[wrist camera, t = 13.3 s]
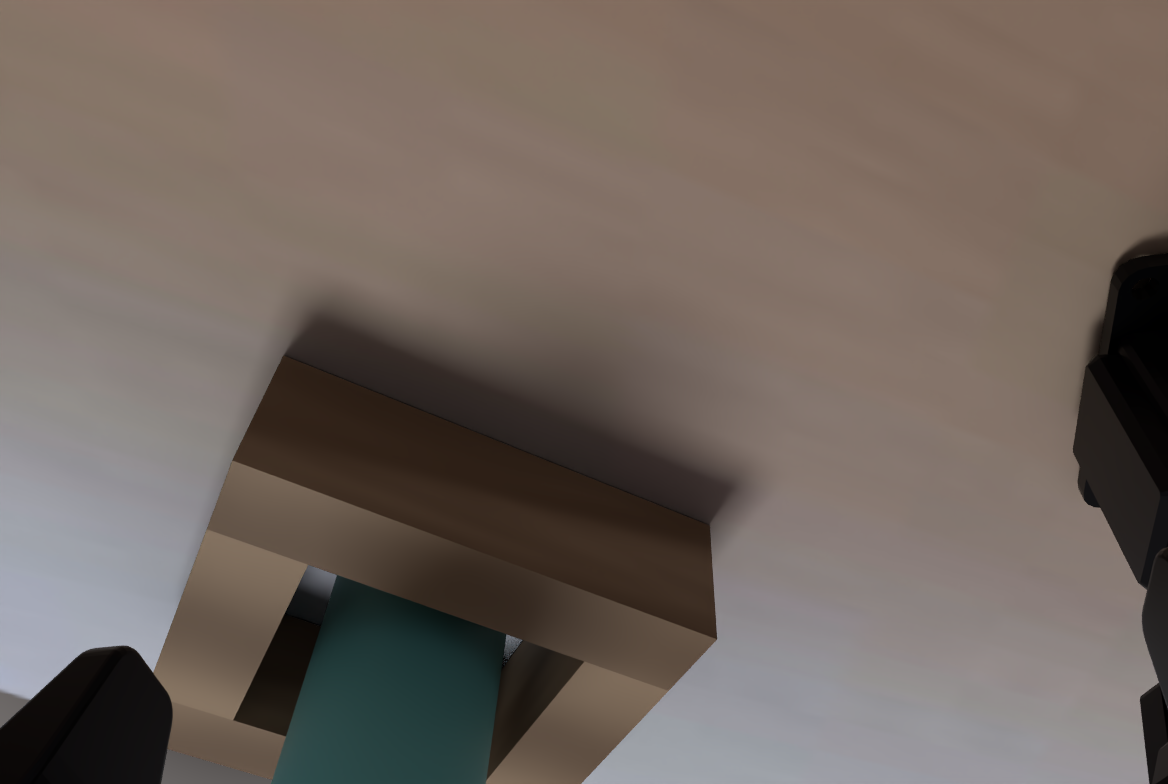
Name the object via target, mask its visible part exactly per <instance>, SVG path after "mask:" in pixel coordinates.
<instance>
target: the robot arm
mask: <svg viewBox="0 0 1168 784" xmlns="http://www.w3.org/2000/svg"><path fill="white" fill-rule="evenodd" d="M1145 278H1151V279H1150V281H1149V283H1147V284H1146V285H1145V286H1143V287H1141V288H1138V289H1132V288H1133V286H1134V285H1135V284H1136V283H1137V282H1138V281H1140V280H1142V279H1145ZM1073 453H1074V455H1075V457H1076V459H1077V461H1078V463H1079V465H1080V471H1079V477H1078V488H1079V490H1080V492H1081V495H1082V497H1083V499H1084V500H1085V502H1086V503H1087V504H1088V505H1091V506H1093V507H1099V508H1101V510H1102V512H1103V514H1104V516H1105V518H1106V520H1107V522H1108V524H1109V526H1110V528H1111V530H1112V532H1113V534H1114V536H1115V538H1116V540H1117V542H1118V544H1119V546H1120V548H1121V550H1122V552H1123V554H1124V556H1125V558H1126V560H1127V562H1128V564H1129V566H1130V568H1131V570H1132V572H1133V574H1134V576H1135V578H1136V580H1137V582H1138V583H1139V584H1140V585H1142V586H1143V587H1144V588H1145V589H1147V593H1146V597H1145V602H1144V606H1143V611H1142V626H1143V633H1144V638H1145V641H1146V644H1147V647H1148V650H1149V654H1150V657H1151V660H1152V663H1153V666H1154V669H1155V672H1156V675H1157V678H1158V681H1159V683H1158V684H1157V685H1155V686H1154V687H1153V688H1151V689H1150V690H1149V691H1147V692H1146V693H1145V694H1143V695H1142V696H1141V697H1140V704H1141V713H1142V722H1143V731H1144V740H1145V749H1146V758H1147V766H1148V775H1149V784H1168V253H1166V254H1158V255H1150V256H1141V257H1138V258H1134V259H1131V260H1129V261H1127V262H1126V263H1124V264H1122V265H1121V266H1120V267H1119V268H1118V269H1117V270H1116V272H1115V273H1114V275H1113V277H1112V280H1111V284H1110V290H1109V296H1108V302H1107V308H1106V314H1105V320H1104V326H1103V332H1102V338H1101V344H1100V350H1099V355H1096V356H1094V357H1093V359H1092V360H1091V361H1090V362H1089V364H1088V365H1087V366H1086V369H1085V376H1084V382H1083V388H1082V395H1081V401H1080V407H1079V414H1078V420H1077V426H1076V433H1075V439H1074V445H1073ZM172 720H173V708H172V702H171V699H170V696H169V694H168V692H167V691H166V690H165V688H164V687H163V686H162V684H161V683H160V681H159V680H158V679H157V677H156V676H155V675H154V673H153V672H152V671H151V669H150V668H149V667H148V665H147V664H146V663H145V661H144V660H143V658H142V657H141V656H140V654H139V653H138V652H137V651H136V650H135V649H133V648H131V647H129V646H112V647H102V648H94V649H90V650H87V651H85V652H83V653H82V654H80V655H79V656H78V657H76V658H75V659H74V660H73V661H72V662H71V663H70V664H69V665H68V666H67V667H66V668H64V669H63V670H62V671H61V672H60V673H59V674H58V675H57V676H56V677H55V678H54V679H53V680H52V681H50V682H49V683H48V684H47V685H46V686H45V687H44V688H43V689H42V690H41V691H40V692H39V693H38V694H36V695H35V696H34V697H33V698H32V699H31V700H30V701H29V702H28V703H27V704H26V705H25V706H24V707H23V708H21V709H20V710H19V711H18V712H17V713H16V714H15V715H14V716H13V717H12V718H11V719H10V720H8V721H7V722H6V723H5V724H4V725H3V726H2V727H1V728H0V784H161V780H162V775H163V770H164V764H165V759H166V754H167V749H168V743H169V738H170V732H171V727H172Z"/></svg>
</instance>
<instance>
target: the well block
mask: <svg viewBox="0 0 1168 784" xmlns="http://www.w3.org/2000/svg"><path fill="white" fill-rule="evenodd" d="M308 565H310V566H313V567H316V568H319V569H322V570H324V571H327V572H330V573H333V574H336V575H339V576H342V577H344V578H347V579H350V580H353V581H356V582H359V583H362V584H364V585H367V586H370V587H373V588H376V589H379V590H382V591H384V592H387V593H390V594H393V595H396V596H399V597H402V598H404V599H407V600H410V601H413V602H416V603H419V604H422V605H424V606H427V607H430V608H433V609H436V610H439V611H442V612H444V613H447V614H450V615H453V616H456V617H459V618H462V619H464V620H467V621H470V622H473V623H476V624H479V625H482V626H484V627H487V628H490V629H493V630H496V631H499V632H502V633H504V634H507V635H510V636H513V637H516V638H519V639H522V640H523V642H522V643H521V644H520V646H519V647H518V648H517V650H516V651H515V652H514V654H513V655H512V656H511V658H510V659H509V660H508V662H507V663H506V664H505V666H504V667H503V668H502V670H501V677H500V684H499V691H498V699H497V706H496V713H495V721H494V728H493V735H492V743H491V750H490V757H489V765H488V772H487V779H486V784H581V783H582V782H583V781H584V780H585V779H586V778H587V777H588V776H589V775H590V774H591V773H592V772H593V770H594V769H595V768H596V767H597V766H598V765H599V764H600V763H601V762H602V761H603V760H604V759H605V758H606V757H607V756H608V755H609V753H610V752H611V751H612V750H613V749H614V748H615V747H616V746H617V745H618V744H619V743H620V742H621V741H622V740H623V739H624V738H625V736H626V735H627V734H628V733H629V732H630V731H631V730H632V729H633V728H634V727H635V726H636V725H637V724H638V723H639V722H640V721H641V720H642V718H643V717H644V716H645V715H646V714H647V713H648V712H649V711H650V710H651V709H652V708H653V707H654V706H655V705H656V704H657V703H658V701H659V700H660V699H661V698H662V697H663V696H664V695H665V694H666V693H667V692H668V691H669V690H670V689H671V688H672V687H673V686H674V685H675V683H676V682H677V681H678V680H679V679H680V678H681V677H682V676H683V675H684V674H685V673H686V672H687V671H688V670H689V669H690V668H691V666H692V665H693V664H694V663H695V662H696V661H697V660H698V659H699V658H700V657H701V656H702V655H703V654H704V653H705V652H706V651H707V649H708V648H709V647H710V646H711V645H712V644H713V643H714V642H715V641H716V640H717V631H716V615H715V600H714V585H713V569H712V554H711V538H710V526H709V525H707V524H704V523H702V522H699V521H697V520H694V519H692V518H689V517H687V516H684V515H682V514H679V513H677V512H674V511H672V510H669V509H667V508H664V507H662V506H659V505H657V504H654V503H652V502H649V501H647V500H644V499H642V498H639V497H637V496H634V495H632V494H629V493H627V492H624V491H622V490H619V489H617V488H614V487H612V486H609V485H607V484H604V483H602V482H599V481H597V480H594V479H592V478H589V477H587V476H584V475H582V474H579V473H577V472H574V471H572V470H569V469H567V468H564V467H562V466H559V465H557V464H554V463H552V462H549V461H547V460H544V459H541V458H539V457H536V456H534V455H531V454H529V453H526V452H524V451H521V450H519V449H516V448H514V447H511V446H509V445H506V444H504V443H501V442H499V441H496V440H494V439H491V438H489V437H486V436H484V435H481V434H479V433H476V432H474V431H471V430H469V429H466V428H464V427H461V426H459V425H456V424H454V423H451V422H449V421H446V420H444V419H441V418H439V417H436V416H434V415H431V414H429V413H426V412H424V411H421V410H419V409H416V408H414V407H411V406H409V405H406V404H404V403H401V402H399V401H396V400H394V399H391V398H389V397H386V396H384V395H381V394H379V393H376V392H374V391H371V390H369V389H366V388H364V387H361V386H359V385H356V384H354V383H351V382H349V381H346V380H344V379H341V378H339V377H336V376H334V375H331V374H329V373H326V372H324V371H321V370H319V369H316V368H314V367H311V366H309V365H306V364H304V363H301V362H299V361H296V360H294V359H291V358H289V357H286V356H283V358H282V360H281V362H280V364H279V366H278V368H277V370H276V372H275V374H274V376H273V378H272V380H271V382H270V384H269V386H268V388H267V390H266V392H265V395H264V397H263V399H262V401H261V403H260V405H259V407H258V409H257V411H256V413H255V415H254V417H253V419H252V421H251V423H250V425H249V427H248V429H247V431H246V434H245V436H244V438H243V440H242V442H241V444H240V446H239V448H238V450H237V452H236V454H235V456H234V458H233V460H232V463H231V465H230V468H229V471H228V474H227V476H226V479H225V482H224V484H223V487H222V490H221V492H220V495H219V498H218V500H217V503H216V506H215V509H214V511H213V514H212V517H211V519H210V522H209V525H208V527H207V530H206V533H205V535H204V538H203V541H202V543H201V546H200V549H199V552H198V554H197V557H196V560H195V562H194V565H193V568H192V570H191V573H190V576H189V578H188V581H187V584H186V586H185V589H184V592H183V595H182V597H181V600H180V603H179V605H178V608H177V611H176V613H175V616H174V619H173V621H172V624H171V627H170V629H169V632H168V635H167V638H166V640H165V643H164V646H163V648H162V651H161V654H160V656H159V659H158V662H157V664H156V667H155V670H154V672H153V673H154V675H155V676H156V677H157V679H158V680H159V681H160V683H161V684H162V686H163V687H164V688H165V690H166V691H167V692H168V694H169V696H170V699H171V702H172V708H173V720H172V727H171V732H170V738H169V743H168V749H169V750H172V751H176V752H179V753H183V754H186V755H190V756H193V757H196V758H200V759H203V760H207V761H210V762H214V763H217V764H220V765H223V766H227V767H230V768H234V769H237V770H240V771H244V772H247V773H251V774H254V775H257V776H261V777H264V778H267V779H271V780H272V779H273V776H274V773H275V770H276V767H277V763H278V760H279V757H280V754H281V751H282V748H283V744H284V741H285V738H286V735H287V732H288V729H289V726H290V722H291V719H292V716H293V713H294V710H295V707H296V703H297V700H298V697H299V694H300V691H301V688H302V685H303V681H304V678H305V675H306V672H307V669H308V666H309V662H310V659H311V656H312V653H313V650H314V647H315V644H316V640H317V637H318V634H319V631H320V628H321V626H318V625H315V624H312V623H309V622H306V621H303V620H300V619H297V618H294V617H291V616H288V615H285V612H286V610H287V607H288V605H289V603H290V601H291V599H292V597H293V595H294V593H295V591H296V589H297V587H298V585H299V583H300V581H301V578H302V576H303V574H304V572H305V570H306V568H307V566H308Z"/></svg>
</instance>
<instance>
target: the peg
mask: <svg viewBox="0 0 1168 784" xmlns="http://www.w3.org/2000/svg"><path fill="white" fill-rule="evenodd" d="M505 640H506V634H504V633H502V632H499V631H496V630H493V629H490V628H487V627H484V626H482V625H479V624H476V623H473V622H470V621H467V620H464V619H462V618H459V617H456V616H453V615H450V614H447V613H444V612H442V611H439V610H436V609H433V608H430V607H427V606H424V605H422V604H419V603H416V602H413V601H410V600H407V599H404V598H402V597H399V596H396V595H393V594H390V593H387V592H384V591H382V590H379V589H376V588H373V587H370V586H367V585H364V584H362V583H359V582H356V581H353V580H350V579H347V578H344V577H342V576H339V575H337V577H336V580H335V584H334V587H333V590H332V593H331V596H330V599H329V603H328V606H327V609H326V612H325V615H324V618H323V621H322V625H321V628H320V631H319V634H318V637H317V640H316V644H315V647H314V650H313V653H312V656H311V659H310V662H309V666H308V669H307V672H306V675H305V678H304V681H303V685H302V688H301V691H300V694H299V697H298V700H297V703H296V707H295V710H294V713H293V716H292V719H291V722H290V726H289V729H288V732H287V735H286V738H285V741H284V744H283V748H282V751H281V754H280V757H279V760H278V763H277V767H276V770H275V773H274V776H273V779H272V782H271V784H486V779H487V772H488V765H489V757H490V750H491V743H492V735H493V728H494V721H495V713H496V706H497V699H498V691H499V684H500V677H501V669H502V662H503V655H504V647H505Z"/></svg>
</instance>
